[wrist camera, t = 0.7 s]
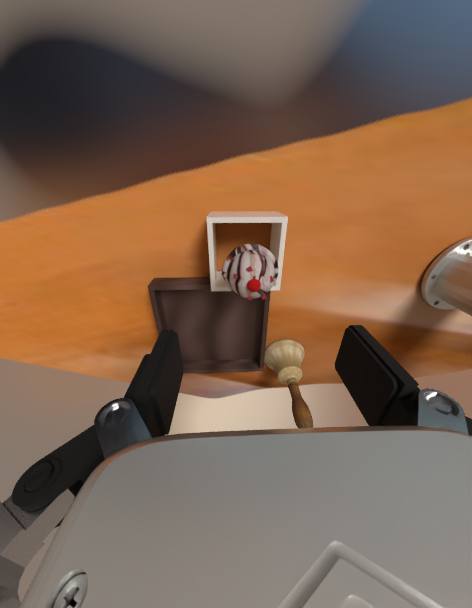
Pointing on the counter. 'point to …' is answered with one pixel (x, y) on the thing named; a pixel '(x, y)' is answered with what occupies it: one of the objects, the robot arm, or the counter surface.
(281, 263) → the frame
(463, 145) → the counter surface
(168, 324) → the tray
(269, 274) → the ice cream cone
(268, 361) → the hand bell
